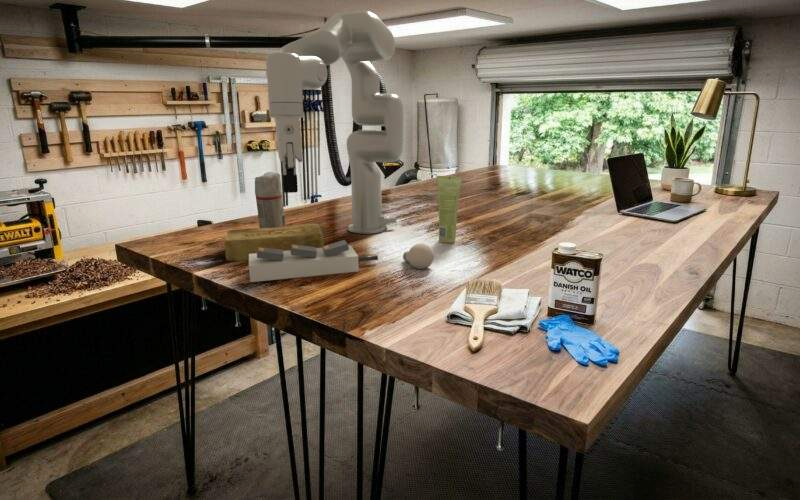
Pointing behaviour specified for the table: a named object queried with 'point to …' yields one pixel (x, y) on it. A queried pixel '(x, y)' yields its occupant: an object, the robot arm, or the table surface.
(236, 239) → the brick
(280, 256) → the block
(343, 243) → the block
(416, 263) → the light bulb
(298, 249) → the plate
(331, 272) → the power strip
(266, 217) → the grey cylinder
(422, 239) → the table surface
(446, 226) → the tube
